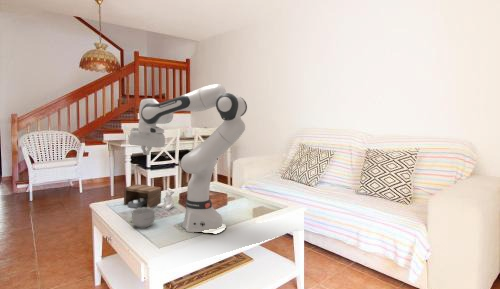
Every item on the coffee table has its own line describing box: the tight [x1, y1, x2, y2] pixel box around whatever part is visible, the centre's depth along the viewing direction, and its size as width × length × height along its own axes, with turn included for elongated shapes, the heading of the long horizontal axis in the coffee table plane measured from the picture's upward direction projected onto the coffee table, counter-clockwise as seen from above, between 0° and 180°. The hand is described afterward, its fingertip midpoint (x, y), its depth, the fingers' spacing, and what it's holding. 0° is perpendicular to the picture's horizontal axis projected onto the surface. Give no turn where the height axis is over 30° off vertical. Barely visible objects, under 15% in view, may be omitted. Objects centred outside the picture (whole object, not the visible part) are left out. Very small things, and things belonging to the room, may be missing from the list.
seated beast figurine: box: [156, 187, 175, 212], centre depth 175 cm, size 10×9×12 cm
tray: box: [127, 198, 148, 210], centre depth 176 cm, size 12×6×4 cm, turn 164°
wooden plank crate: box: [123, 183, 162, 208], centre depth 178 cm, size 18×12×10 cm, turn 74°
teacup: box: [131, 206, 156, 229], centre depth 144 cm, size 14×11×8 cm
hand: (146, 154), depth 154 cm, fingers closed
